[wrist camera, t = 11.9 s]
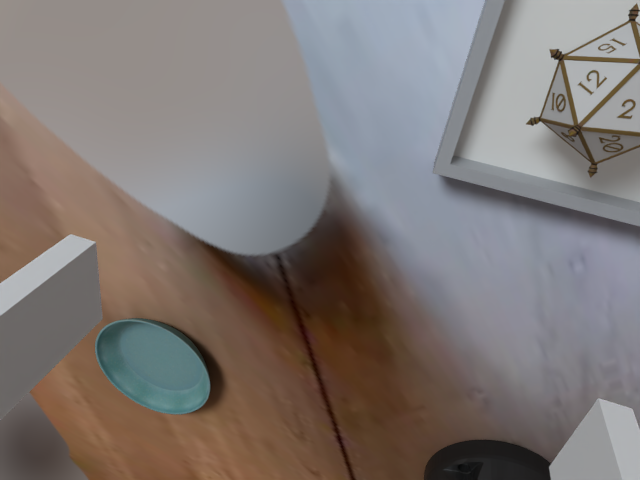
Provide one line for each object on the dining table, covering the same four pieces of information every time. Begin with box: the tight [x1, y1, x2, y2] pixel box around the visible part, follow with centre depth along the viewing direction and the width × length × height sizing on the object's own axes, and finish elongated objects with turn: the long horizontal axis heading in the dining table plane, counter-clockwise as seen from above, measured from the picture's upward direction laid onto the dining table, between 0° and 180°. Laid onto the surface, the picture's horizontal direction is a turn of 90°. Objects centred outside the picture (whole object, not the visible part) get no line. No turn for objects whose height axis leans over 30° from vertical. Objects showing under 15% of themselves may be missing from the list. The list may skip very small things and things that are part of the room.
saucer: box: [95, 318, 210, 414], centre depth 58 cm, size 15×15×3 cm
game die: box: [526, 3, 640, 178], centre depth 29 cm, size 9×8×10 cm
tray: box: [433, 0, 640, 226], centre depth 32 cm, size 17×18×3 cm
